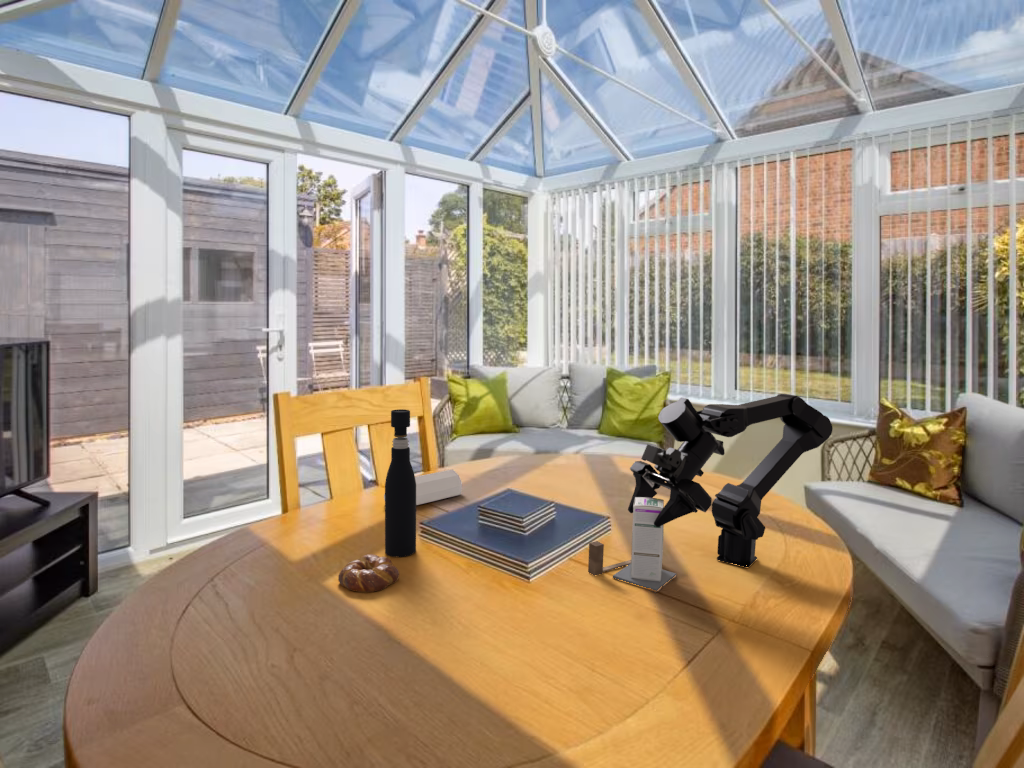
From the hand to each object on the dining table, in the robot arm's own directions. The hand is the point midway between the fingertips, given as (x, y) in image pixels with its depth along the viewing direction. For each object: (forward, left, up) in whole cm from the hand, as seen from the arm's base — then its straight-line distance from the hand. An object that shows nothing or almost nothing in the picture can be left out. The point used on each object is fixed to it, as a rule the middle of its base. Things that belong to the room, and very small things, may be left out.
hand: (642, 518), depth 112 cm
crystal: (+67, -6, -12) cm, 68 cm away
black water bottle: (+44, +21, -12) cm, 51 cm away
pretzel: (+39, +34, -12) cm, 53 cm away
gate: (+5, -3, -12) cm, 13 cm away
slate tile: (-1, -1, -12) cm, 12 cm away
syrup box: (-1, -1, -12) cm, 12 cm away
